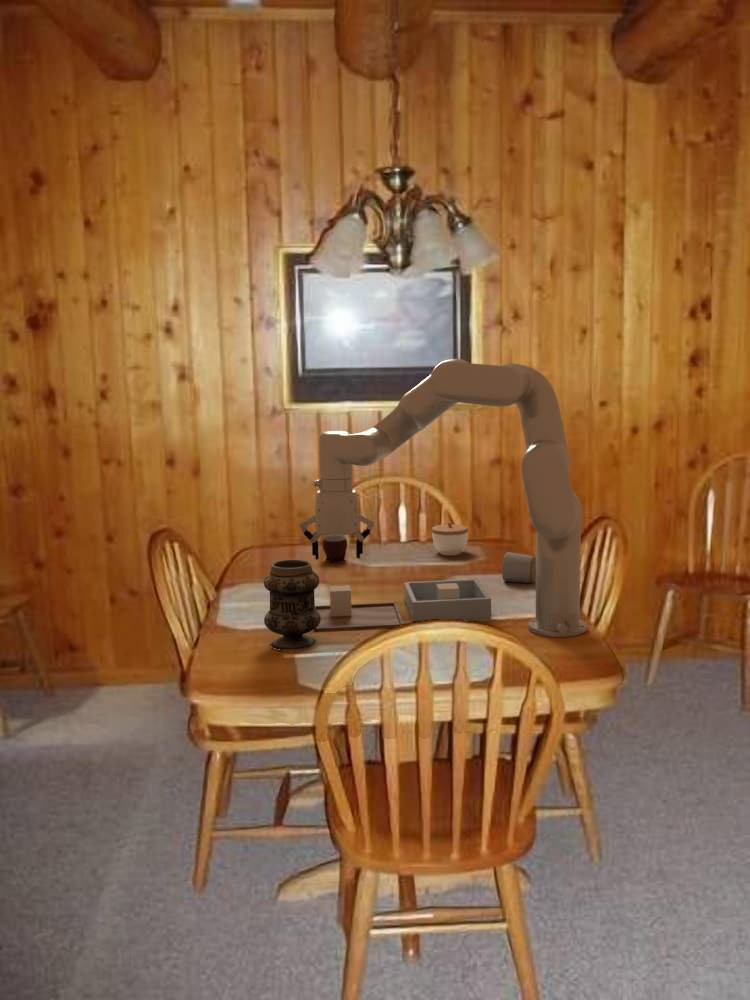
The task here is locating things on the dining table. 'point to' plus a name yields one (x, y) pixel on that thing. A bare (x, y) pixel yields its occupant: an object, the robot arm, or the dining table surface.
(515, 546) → the dining table surface
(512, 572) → the ceramic mug
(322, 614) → the walnut tray
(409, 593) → the tub
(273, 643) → the apothecary jar
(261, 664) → the dining table surface
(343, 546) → the mate gourd
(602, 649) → the dining table surface
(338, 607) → the stone
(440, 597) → the beige block
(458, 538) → the lidded jar
